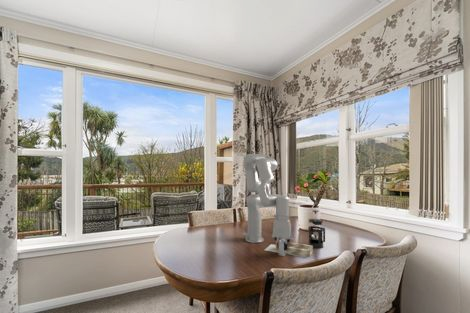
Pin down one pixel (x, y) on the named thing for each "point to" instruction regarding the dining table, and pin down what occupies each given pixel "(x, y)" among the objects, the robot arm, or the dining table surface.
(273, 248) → the mat
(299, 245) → the frame
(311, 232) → the french press
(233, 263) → the dining table surface
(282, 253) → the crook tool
